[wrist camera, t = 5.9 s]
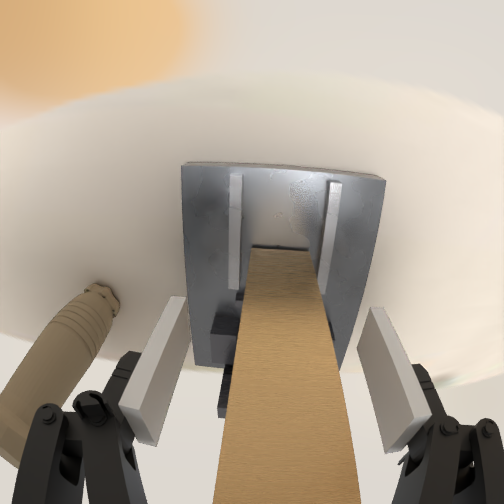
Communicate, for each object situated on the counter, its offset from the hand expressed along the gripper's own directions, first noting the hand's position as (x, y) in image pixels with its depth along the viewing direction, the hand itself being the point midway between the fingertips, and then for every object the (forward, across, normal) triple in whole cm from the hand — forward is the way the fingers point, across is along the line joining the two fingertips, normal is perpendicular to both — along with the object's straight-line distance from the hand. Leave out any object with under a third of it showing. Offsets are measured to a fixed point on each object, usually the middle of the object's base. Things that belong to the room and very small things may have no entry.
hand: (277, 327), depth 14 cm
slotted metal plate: (+5, 0, 0) cm, 5 cm away
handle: (+6, -13, -4) cm, 15 cm away
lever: (+4, 0, +1) cm, 4 cm away
